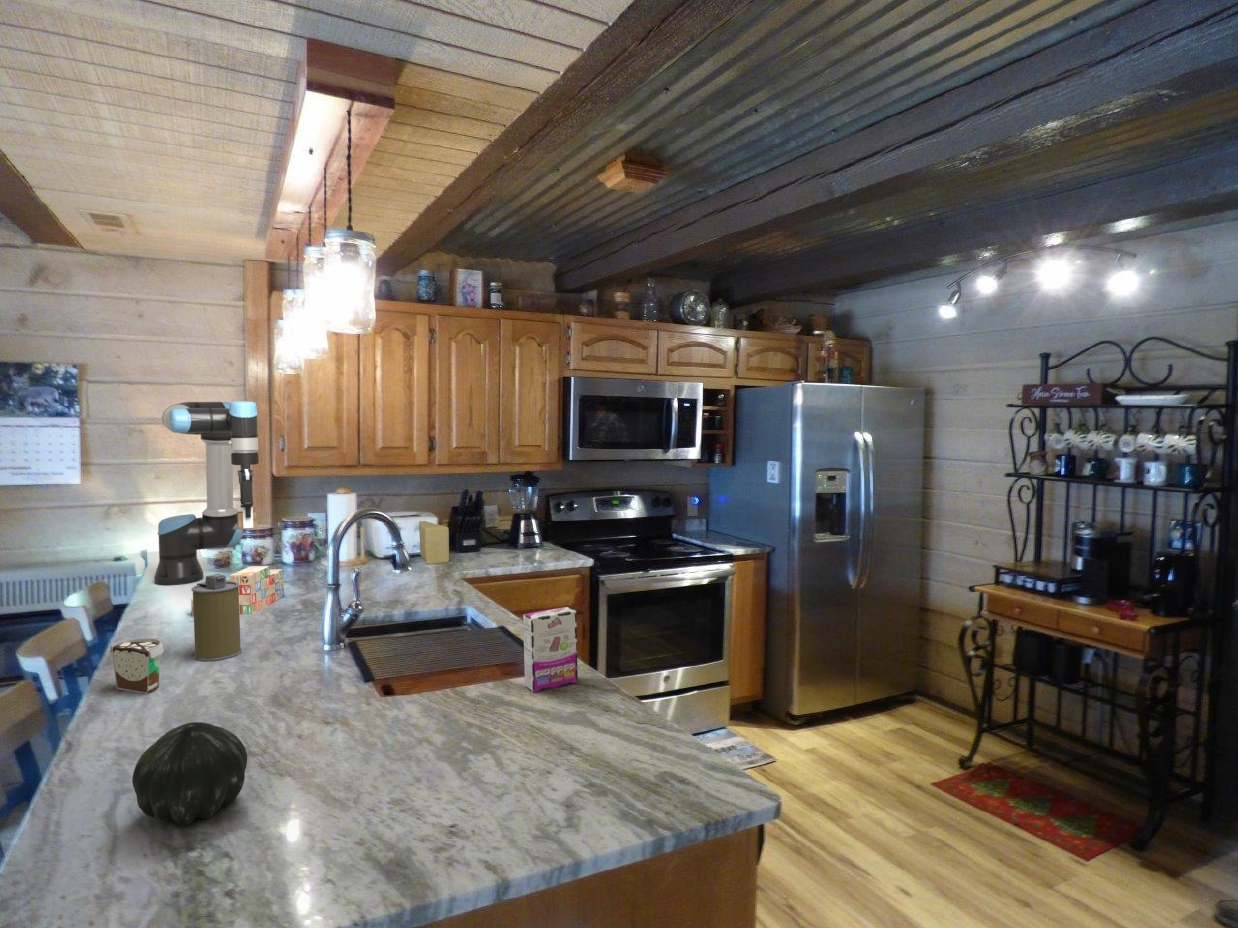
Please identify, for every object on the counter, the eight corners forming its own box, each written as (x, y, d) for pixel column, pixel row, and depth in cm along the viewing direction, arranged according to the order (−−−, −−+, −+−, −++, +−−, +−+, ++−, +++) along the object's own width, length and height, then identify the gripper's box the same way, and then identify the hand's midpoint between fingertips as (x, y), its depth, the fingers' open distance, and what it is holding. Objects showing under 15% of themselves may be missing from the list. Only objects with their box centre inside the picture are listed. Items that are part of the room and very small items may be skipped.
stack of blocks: (265, 597, 240) (264, 560, 239) (284, 597, 240) (283, 560, 239) (231, 614, 219) (229, 574, 218) (251, 614, 219) (250, 574, 218)
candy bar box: (567, 676, 167) (567, 605, 166) (578, 683, 162) (578, 610, 161) (522, 686, 161) (522, 612, 160) (532, 693, 157) (532, 618, 155)
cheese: (410, 556, 309) (409, 520, 308) (432, 553, 314) (432, 519, 313) (426, 565, 290) (425, 527, 289) (449, 562, 296) (449, 525, 295)
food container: (178, 684, 162) (176, 640, 161) (153, 694, 156) (150, 649, 155) (138, 678, 166) (136, 635, 165) (111, 687, 160) (109, 643, 159)
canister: (251, 651, 185) (248, 573, 183) (213, 663, 175) (209, 581, 174) (222, 645, 189) (219, 569, 188) (183, 657, 180) (180, 577, 178)
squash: (191, 743, 121) (146, 701, 110) (277, 750, 119) (240, 708, 109) (144, 834, 111) (89, 798, 100) (237, 844, 109) (192, 807, 99)
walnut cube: (237, 527, 226) (236, 511, 226) (255, 526, 229) (254, 510, 229) (238, 529, 222) (238, 513, 222) (256, 528, 225) (256, 512, 224)
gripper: (229, 451, 230) (231, 524, 231) (233, 453, 215) (236, 531, 216) (255, 450, 234) (258, 522, 235) (261, 452, 218) (264, 529, 220)
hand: (247, 526), depth 226 cm, fingers closed on walnut cube, 5 cm apart
